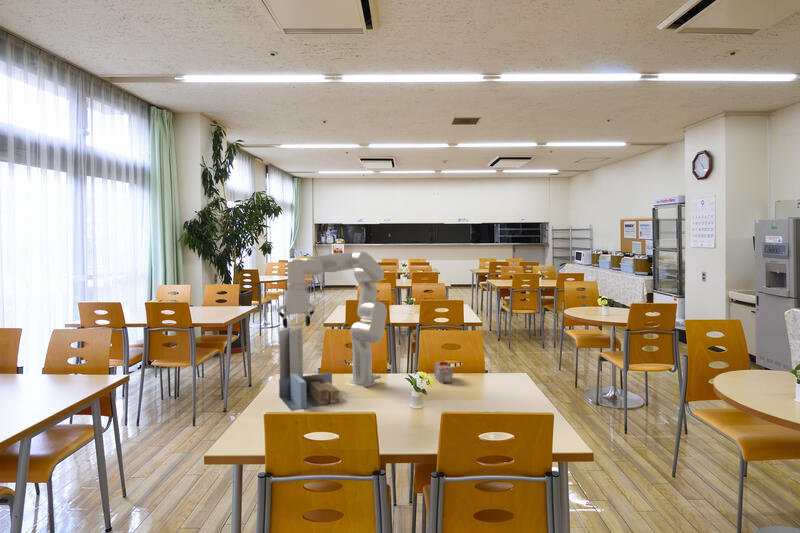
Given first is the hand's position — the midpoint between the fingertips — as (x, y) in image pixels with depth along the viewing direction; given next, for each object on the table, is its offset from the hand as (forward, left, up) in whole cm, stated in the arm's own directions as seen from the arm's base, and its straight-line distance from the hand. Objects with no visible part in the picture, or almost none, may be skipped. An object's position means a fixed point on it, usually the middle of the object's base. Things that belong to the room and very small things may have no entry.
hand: (296, 326), depth 207 cm
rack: (-7, -1, -35) cm, 35 cm away
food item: (-77, -2, -35) cm, 84 cm away
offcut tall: (-10, 0, -34) cm, 35 cm away
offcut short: (-15, 0, -34) cm, 37 cm away
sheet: (0, 0, -34) cm, 34 cm away
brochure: (-3, -22, -35) cm, 41 cm away
